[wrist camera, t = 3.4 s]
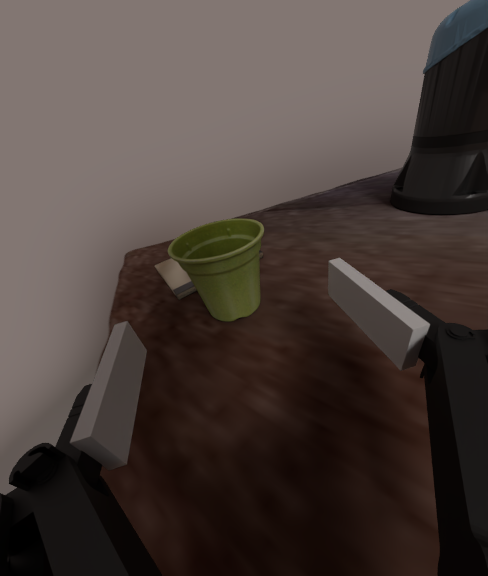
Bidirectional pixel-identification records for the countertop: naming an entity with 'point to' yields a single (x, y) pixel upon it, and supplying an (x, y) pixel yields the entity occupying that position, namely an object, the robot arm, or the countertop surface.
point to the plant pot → (223, 265)
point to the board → (178, 277)
